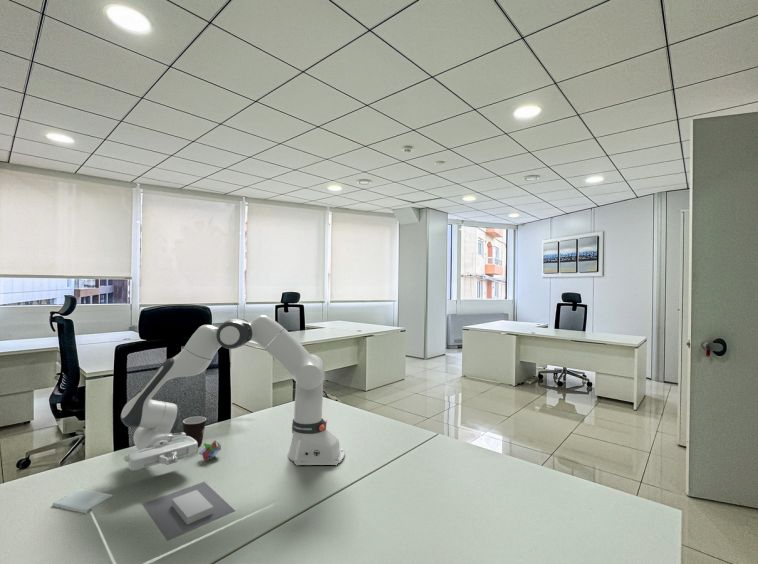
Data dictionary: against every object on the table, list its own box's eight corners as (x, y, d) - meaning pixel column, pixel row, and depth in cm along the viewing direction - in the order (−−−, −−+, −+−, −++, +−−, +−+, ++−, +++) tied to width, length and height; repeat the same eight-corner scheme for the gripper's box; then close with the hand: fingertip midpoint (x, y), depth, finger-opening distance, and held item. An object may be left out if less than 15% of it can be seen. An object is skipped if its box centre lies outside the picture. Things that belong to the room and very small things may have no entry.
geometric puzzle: (206, 461, 130) (217, 439, 135) (191, 458, 132) (202, 436, 137) (217, 466, 136) (227, 444, 140) (203, 463, 138) (213, 441, 143)
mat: (141, 505, 107) (142, 503, 107) (204, 483, 120) (204, 481, 120) (167, 543, 92) (167, 540, 92) (235, 512, 105) (235, 510, 105)
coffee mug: (195, 450, 144) (196, 425, 144) (176, 447, 145) (177, 422, 146) (214, 438, 155) (215, 415, 155) (196, 436, 157) (197, 413, 157)
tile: (172, 498, 106) (187, 517, 98) (196, 489, 111) (213, 506, 103) (171, 506, 106) (187, 525, 98) (196, 496, 111) (213, 514, 103)
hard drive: (52, 502, 105) (86, 509, 102) (81, 487, 113) (113, 493, 110) (52, 508, 105) (86, 515, 102) (80, 492, 113) (113, 499, 110)
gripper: (123, 446, 118) (135, 461, 108) (189, 430, 133) (204, 442, 124) (121, 466, 118) (133, 483, 108) (187, 448, 133) (203, 461, 123)
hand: (172, 461), depth 116 cm, fingers closed
